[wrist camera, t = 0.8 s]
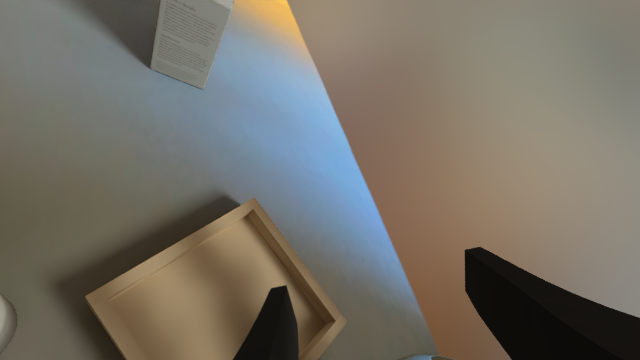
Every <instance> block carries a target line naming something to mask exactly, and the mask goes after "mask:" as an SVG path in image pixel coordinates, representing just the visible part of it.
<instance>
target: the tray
mask: <svg viewBox="0 0 640 360" xmlns="http://www.w3.org/2000/svg"><path fill="white" fill-rule="evenodd" d="M284 285H287V288H288V292H289V296H290V299H291V303H292V306H293V310H294V313H295V317H296V320H297V326H298V342H299V358H298V360H318V359H319V357H320V356H321V355H322V354H323V352H324V351H325V350H326V348H327V347H328V346H329V345H330V343H331V342H332V341H333V339H334V338H335V337H336V336H337V334H338V333H339V332H340V330H341V329H342V328H343V327H344V325H345V324H346V323H347V322H346V320H345V319H344V318H343V316H342V315H341V314H340V312H339V311H338V309H337V308H336V307H335V305H334V304H333V303H332V301H331V300H330V299H329V297H328V296H327V295H326V293H325V292H324V291H323V289H322V288H321V286H320V285H319V284H318V282H317V281H316V280H315V278H314V277H313V276H312V274H311V273H310V272H309V270H308V269H307V268H306V266H305V265H304V263H303V262H302V261H301V259H300V258H299V257H298V255H297V254H296V253H295V251H294V250H293V249H292V247H291V246H290V245H289V243H288V242H287V241H286V239H285V238H284V236H283V235H282V234H281V232H280V231H279V230H278V228H277V227H276V226H275V224H274V223H273V222H272V220H271V219H270V218H269V216H268V215H267V213H266V212H265V211H264V209H263V208H262V207H261V205H260V204H259V203H258V201H257V200H256V199H255V198H253V199H251V200H249V201H248V202H246V203H244V204H243V205H241V206H239V207H237V208H236V209H234V210H232V211H231V212H229V213H227V214H225V215H224V216H222V217H220V218H219V219H217V220H215V221H213V222H212V223H210V224H208V225H206V226H205V227H203V228H201V229H200V230H198V231H196V232H194V233H193V234H191V235H189V236H188V237H186V238H184V239H182V240H181V241H179V242H177V243H176V244H174V245H172V246H170V247H169V248H167V249H165V250H164V251H162V252H160V253H158V254H157V255H155V256H153V257H151V258H150V259H148V260H146V261H145V262H143V263H141V264H139V265H138V266H136V267H134V268H133V269H131V270H129V271H127V272H126V273H124V274H122V275H121V276H119V277H117V278H115V279H114V280H112V281H110V282H109V283H107V284H105V285H103V286H102V287H100V288H98V289H97V290H95V291H93V292H91V293H90V294H88V295H86V296H85V299H86V303H87V305H88V306H89V308H90V309H91V311H92V312H93V314H94V315H95V317H96V318H97V320H98V321H99V323H100V324H101V326H102V327H103V329H104V330H105V332H106V333H107V335H108V336H109V338H110V339H111V341H112V342H113V344H114V345H115V347H116V348H117V350H118V351H119V353H120V354H121V356H122V357H123V359H124V360H233V358H234V357H235V355H236V353H237V352H238V350H239V348H240V347H241V345H242V343H243V342H244V340H245V338H246V337H247V335H248V333H249V331H250V330H251V328H252V326H253V324H254V322H255V320H256V318H257V316H258V314H259V312H260V310H261V308H262V306H263V304H264V302H265V300H266V298H267V295H268V293H269V291H270V289H271V288H274V287H279V286H284Z"/></svg>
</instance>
